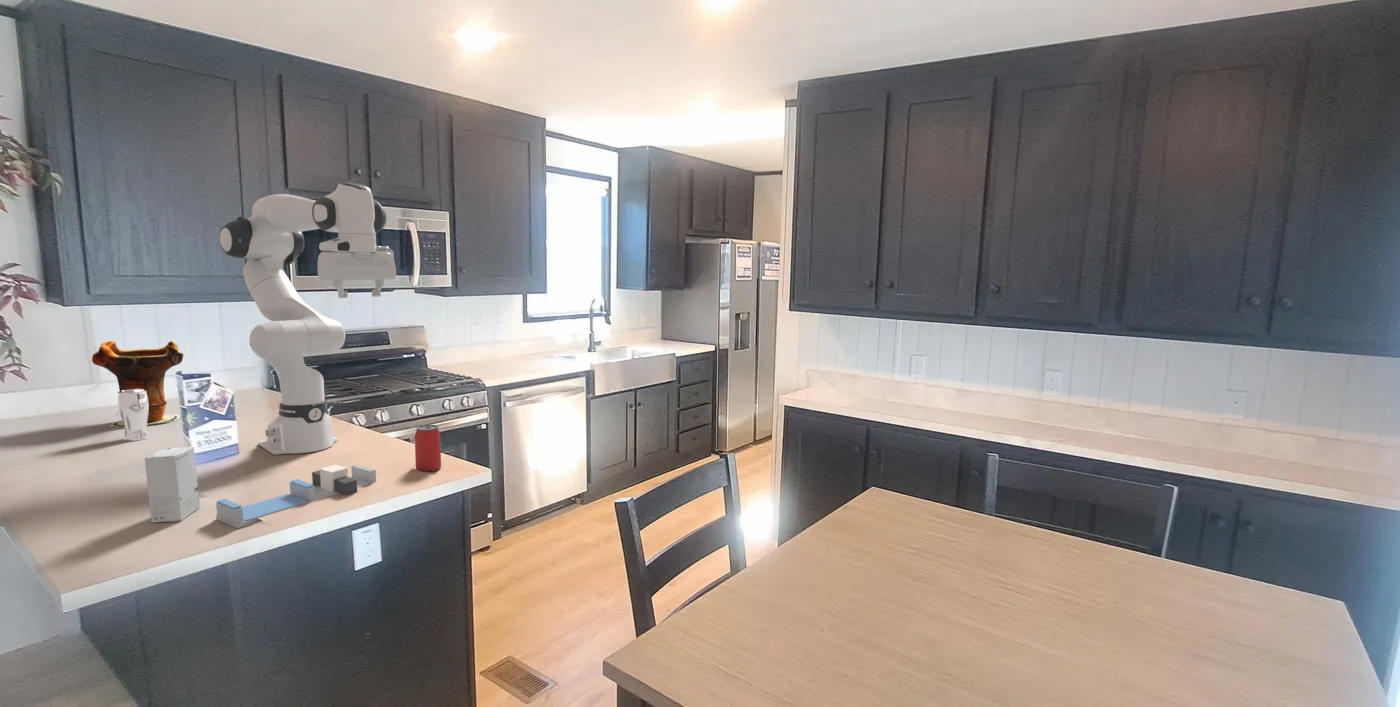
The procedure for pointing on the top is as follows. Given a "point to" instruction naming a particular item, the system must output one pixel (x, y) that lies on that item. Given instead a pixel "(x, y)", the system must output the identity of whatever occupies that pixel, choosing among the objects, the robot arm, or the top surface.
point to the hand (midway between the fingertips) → (360, 297)
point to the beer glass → (134, 413)
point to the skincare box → (172, 484)
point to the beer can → (427, 448)
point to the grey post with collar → (335, 479)
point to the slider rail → (284, 499)
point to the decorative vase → (141, 374)
